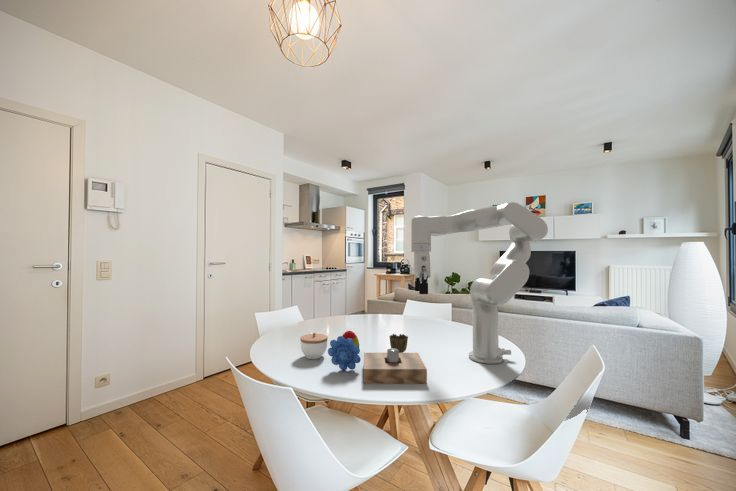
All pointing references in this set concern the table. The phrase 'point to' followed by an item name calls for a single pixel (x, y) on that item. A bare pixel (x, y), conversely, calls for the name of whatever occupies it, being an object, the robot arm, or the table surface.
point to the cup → (399, 342)
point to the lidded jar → (313, 345)
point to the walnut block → (394, 369)
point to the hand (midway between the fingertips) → (421, 292)
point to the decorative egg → (351, 337)
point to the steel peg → (392, 355)
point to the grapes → (344, 353)
